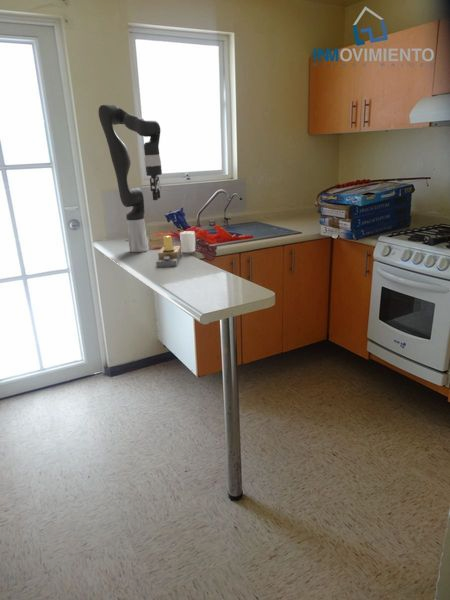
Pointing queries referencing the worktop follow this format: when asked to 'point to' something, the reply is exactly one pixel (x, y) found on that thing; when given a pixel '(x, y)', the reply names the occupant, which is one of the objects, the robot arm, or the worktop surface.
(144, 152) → the robot arm
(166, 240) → the brass pin
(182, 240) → the white cup
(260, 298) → the worktop surface
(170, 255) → the tan and grey block
